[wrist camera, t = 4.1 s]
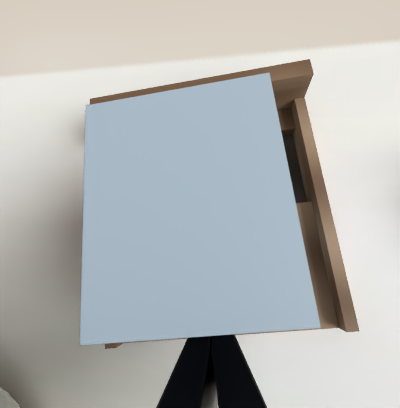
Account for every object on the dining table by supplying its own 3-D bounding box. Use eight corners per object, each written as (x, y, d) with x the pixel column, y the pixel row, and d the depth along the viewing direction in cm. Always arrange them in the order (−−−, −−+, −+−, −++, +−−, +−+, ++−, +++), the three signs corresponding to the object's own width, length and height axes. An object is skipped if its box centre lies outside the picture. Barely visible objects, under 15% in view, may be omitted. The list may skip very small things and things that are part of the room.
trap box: (342, 323, 14) (381, 342, 11) (120, 339, 16) (84, 360, 12) (294, 103, 18) (309, 59, 14) (118, 132, 20) (89, 98, 16)
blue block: (265, 289, 15) (321, 327, 5) (179, 297, 15) (79, 345, 6) (249, 190, 16) (269, 71, 7) (172, 200, 17) (85, 105, 7)
